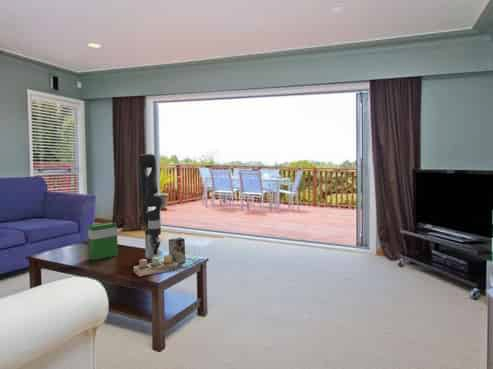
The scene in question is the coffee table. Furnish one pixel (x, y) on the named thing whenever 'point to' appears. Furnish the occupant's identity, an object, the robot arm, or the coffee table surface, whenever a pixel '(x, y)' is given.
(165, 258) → the button ochre
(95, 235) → the green banded box
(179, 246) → the coffee box
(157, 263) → the button sage
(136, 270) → the button board
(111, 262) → the coffee table surface
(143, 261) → the button terracotta
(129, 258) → the coffee table surface
